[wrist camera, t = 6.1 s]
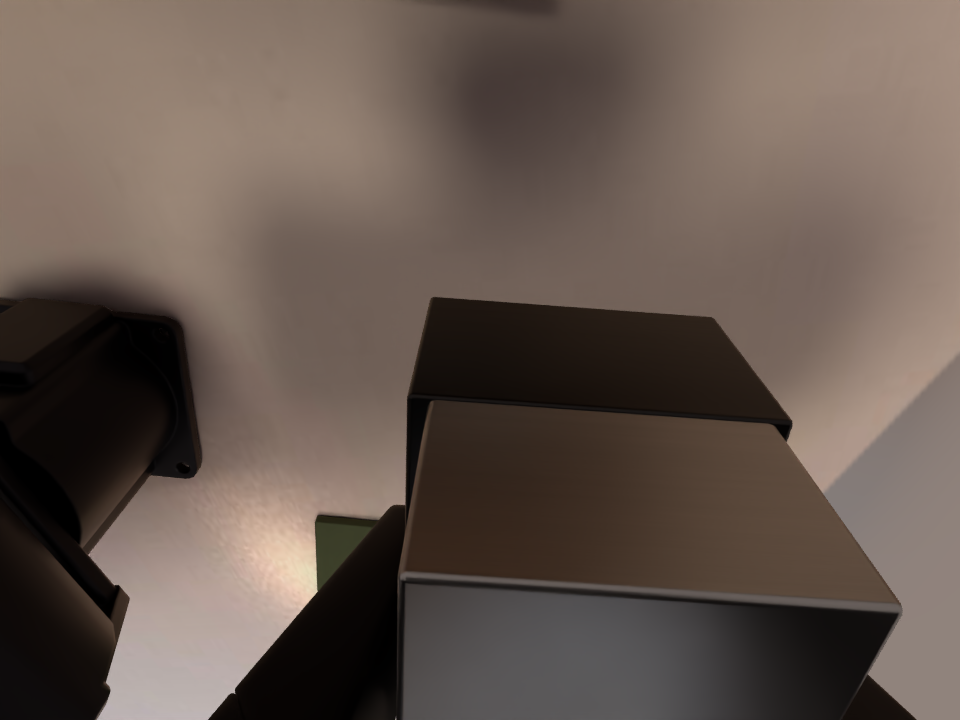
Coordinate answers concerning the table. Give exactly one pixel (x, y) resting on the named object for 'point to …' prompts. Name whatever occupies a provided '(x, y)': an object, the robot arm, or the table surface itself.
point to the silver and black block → (617, 530)
